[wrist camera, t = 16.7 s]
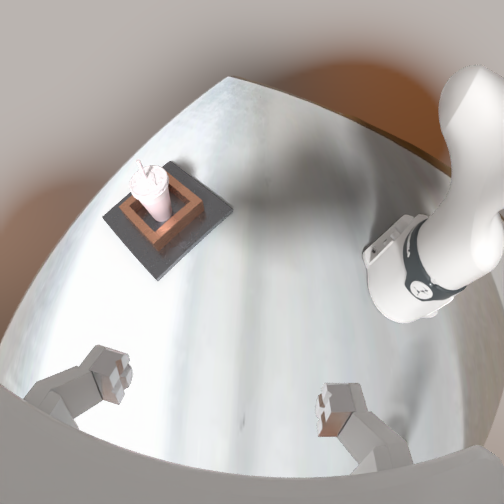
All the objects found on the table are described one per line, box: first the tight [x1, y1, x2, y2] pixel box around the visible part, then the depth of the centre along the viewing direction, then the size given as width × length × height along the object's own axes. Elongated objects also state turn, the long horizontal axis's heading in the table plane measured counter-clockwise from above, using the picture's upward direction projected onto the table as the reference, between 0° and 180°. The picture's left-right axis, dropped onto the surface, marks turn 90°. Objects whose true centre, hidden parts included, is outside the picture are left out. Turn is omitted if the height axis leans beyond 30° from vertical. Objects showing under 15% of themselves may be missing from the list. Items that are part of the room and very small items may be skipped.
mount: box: [102, 161, 233, 281], centre depth 48 cm, size 18×18×4 cm
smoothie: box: [129, 159, 172, 222], centre depth 42 cm, size 6×6×14 cm
